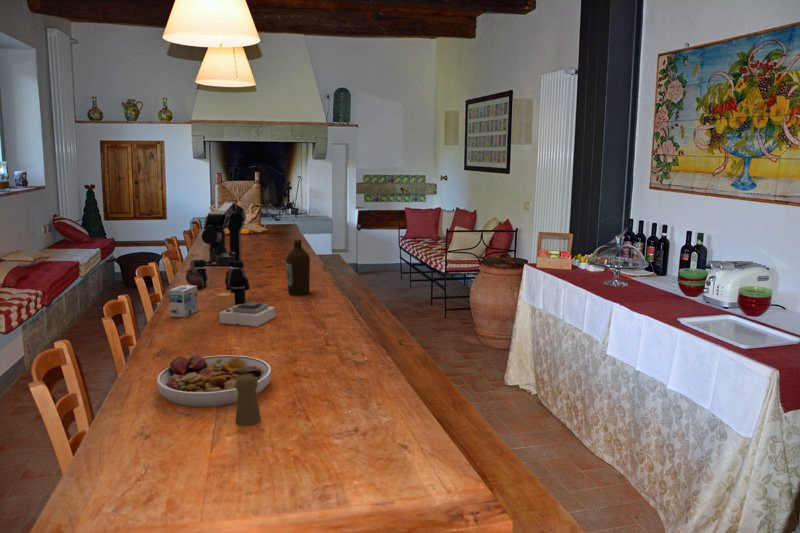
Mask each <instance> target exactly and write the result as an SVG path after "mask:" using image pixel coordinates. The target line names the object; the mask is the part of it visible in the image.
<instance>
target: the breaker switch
mask: <svg viewBox="0 0 800 533" xmlns="http://www.w3.org/2000/svg"><path fill="white" fill-rule="evenodd" d="M260 304H261V303H260V302H255V301H254V302H253V301H249V302H247V303H244V304H242V305H241V306H242V309H254V310H255V309H257V308H259V307H260Z"/></svg>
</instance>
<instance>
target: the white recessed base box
mask: <svg viewBox="0 0 800 533" xmlns="http://www.w3.org/2000/svg"><path fill="white" fill-rule="evenodd" d="M241 305H242V304H238V305H235V306H233V307H231V308H229V309H226V310H224V311H222V312H219V315H218V318H219V324H225V323H226V325H228V324H229V325H236V324H239V326H247V325H250V326H249V327H260V326H261V325H263V324H265V323H267V322H268V321H271V320H272V319H274V318H276V307H275V306H269V304H267V303H266V304H265V303H260V307H259V308H257V309H255V310H254V309H242V306H241ZM270 319H271V320H270Z"/></svg>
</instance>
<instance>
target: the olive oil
mask: <svg viewBox="0 0 800 533" xmlns="http://www.w3.org/2000/svg"><path fill="white" fill-rule="evenodd" d="M285 263H286V265H285V266H286V276H287V277H286V278H287V290H288V295H290V296H292V297H293V296H295V297H302V296H307V295H309V294H310V282H311V281H310V280H311V279H310V277H311V276H310V275H311V274H310V273H311V271H310V270H311V258H310V255H309V254H308V252H307V251H306V250H305V249H304V248H303V247H302V239H301V238H294V239H293V248H292V249H291V250H290V251H289V252H288V254H287V255H286V261H285Z"/></svg>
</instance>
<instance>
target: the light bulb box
mask: <svg viewBox="0 0 800 533" xmlns="http://www.w3.org/2000/svg"><path fill="white" fill-rule="evenodd" d="M168 298H169V316H170V317H173V318H174V317H175V318H187V317H190V316H191V314H192V315H194V314H196V313H198V312H199V300H198V299H199V298H198V286H194V285H192V284H189V285H188V284H182V285H178V286H177V287H174V288H173V287H172V288H171V289H168ZM195 312H196V313H195ZM193 313H194V314H193Z"/></svg>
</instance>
